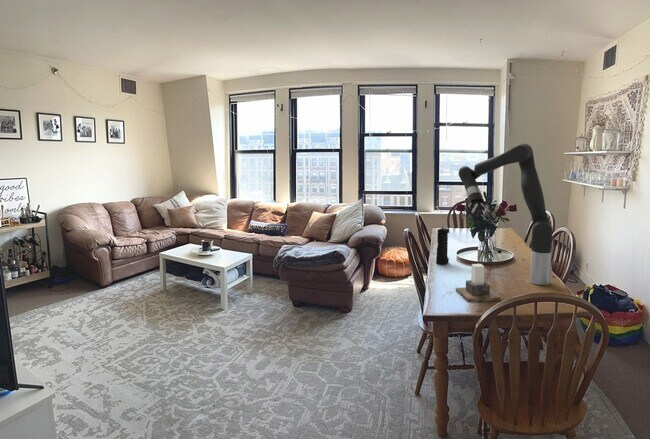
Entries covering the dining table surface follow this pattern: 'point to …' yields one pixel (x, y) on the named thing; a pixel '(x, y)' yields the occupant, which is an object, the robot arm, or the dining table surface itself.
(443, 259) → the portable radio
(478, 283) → the plug block
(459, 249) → the dining table surface
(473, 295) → the square socket base
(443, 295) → the dining table surface
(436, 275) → the dining table surface
